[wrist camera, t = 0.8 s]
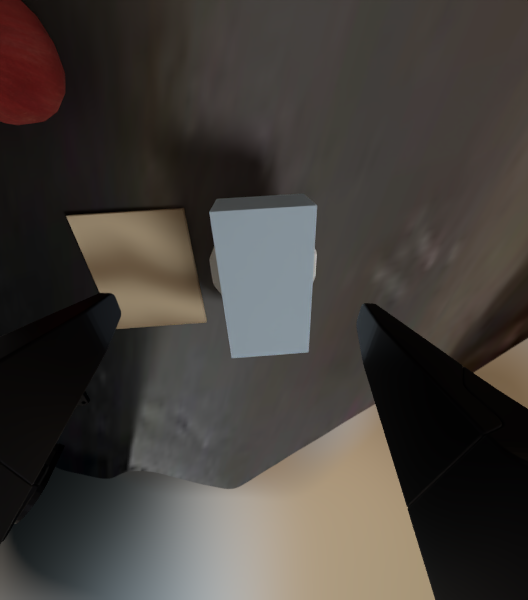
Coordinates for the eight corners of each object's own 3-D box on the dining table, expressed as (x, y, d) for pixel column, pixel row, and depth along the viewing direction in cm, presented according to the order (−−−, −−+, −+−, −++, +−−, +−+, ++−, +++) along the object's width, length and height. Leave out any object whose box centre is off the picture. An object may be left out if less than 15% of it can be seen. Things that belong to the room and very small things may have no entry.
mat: (206, 320, 26) (206, 322, 26) (117, 326, 26) (115, 328, 26) (184, 208, 20) (182, 209, 20) (69, 215, 20) (66, 216, 20)
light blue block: (299, 321, 23) (308, 352, 20) (233, 326, 23) (231, 358, 20) (303, 193, 18) (317, 205, 14) (216, 198, 18) (209, 211, 14)
